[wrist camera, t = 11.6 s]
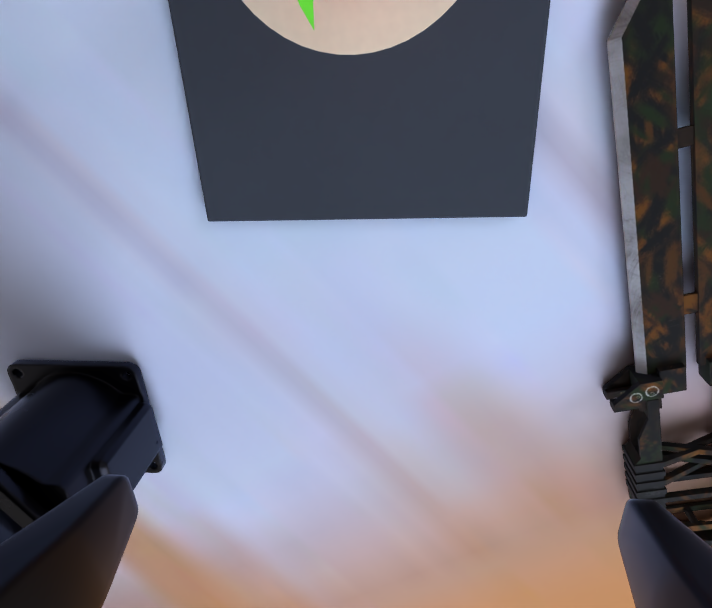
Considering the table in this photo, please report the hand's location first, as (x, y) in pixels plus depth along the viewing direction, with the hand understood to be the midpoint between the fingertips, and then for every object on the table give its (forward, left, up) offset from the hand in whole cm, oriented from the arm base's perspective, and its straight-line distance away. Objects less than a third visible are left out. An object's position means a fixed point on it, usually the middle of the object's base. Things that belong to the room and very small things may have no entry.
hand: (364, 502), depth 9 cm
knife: (+11, -2, -12) cm, 17 cm away
